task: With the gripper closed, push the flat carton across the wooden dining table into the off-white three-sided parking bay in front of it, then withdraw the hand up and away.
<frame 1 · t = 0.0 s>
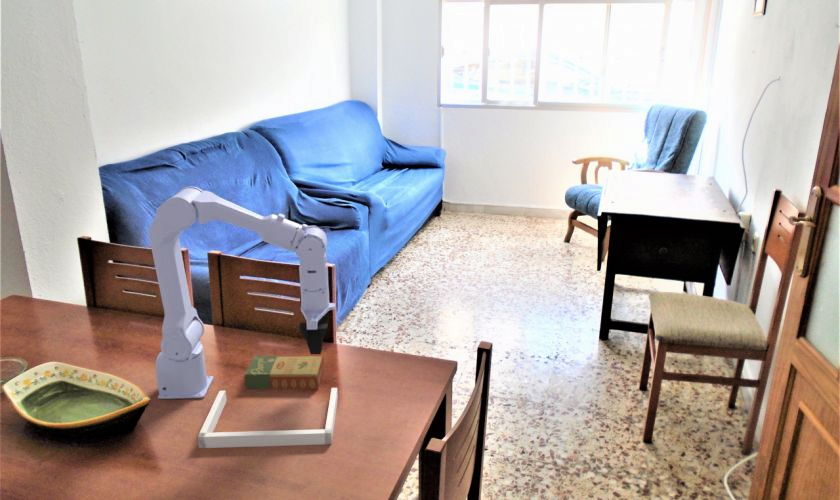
hand: (317, 344, 125), 10 cm above the table, tool pointing down, fingers open, 7 cm apart
bay: (273, 419, 117), on the table
carton: (285, 381, 131), on the table
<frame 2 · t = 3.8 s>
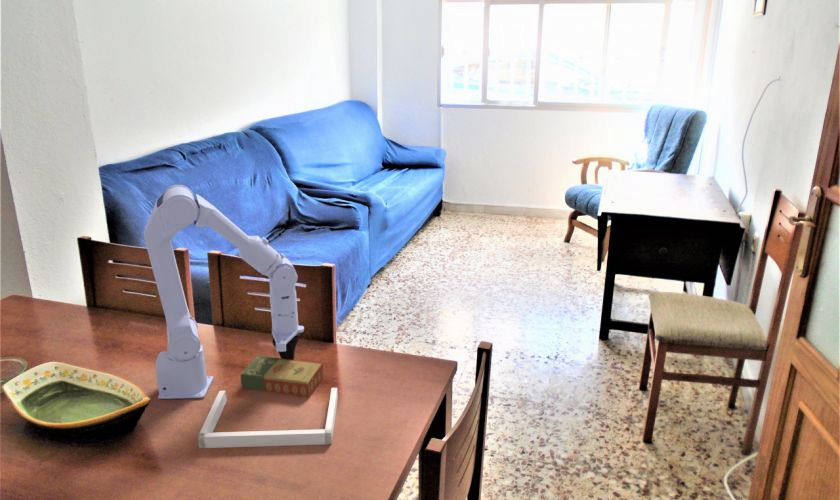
hand: (288, 364, 135), 1 cm above the table, tool pointing down, fingers closed
carton: (283, 385, 130), on the table, touching gripper
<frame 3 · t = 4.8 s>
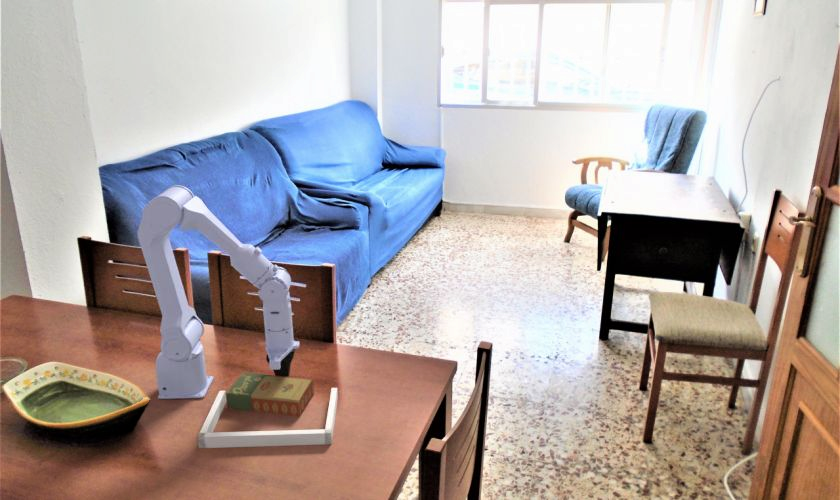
hand: (283, 381, 128), 1 cm above the table, tool pointing down, fingers closed
carton: (271, 403, 123), on the table, touching gripper
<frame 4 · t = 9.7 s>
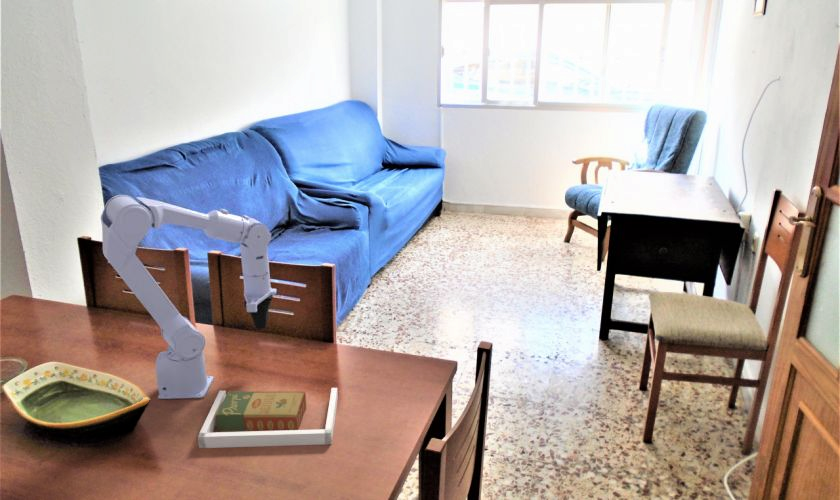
hand: (261, 327, 134), 9 cm above the table, tool pointing down, fingers closed
carton: (263, 420, 117), on the table
at the end: carton inside the target area (2.5 cm from its centre), on the table; carton moved 14.6 cm from its start; carton tilted 1° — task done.
